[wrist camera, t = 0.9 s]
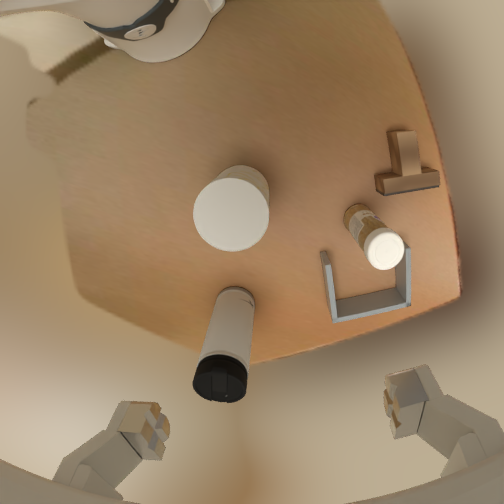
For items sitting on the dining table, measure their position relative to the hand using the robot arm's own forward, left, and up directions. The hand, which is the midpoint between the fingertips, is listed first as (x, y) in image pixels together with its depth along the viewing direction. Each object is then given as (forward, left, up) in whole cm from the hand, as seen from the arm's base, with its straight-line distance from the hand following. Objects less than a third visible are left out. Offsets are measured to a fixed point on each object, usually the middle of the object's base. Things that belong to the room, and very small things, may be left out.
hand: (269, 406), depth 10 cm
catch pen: (+15, +12, -37) cm, 42 cm away
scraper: (-1, +20, -37) cm, 42 cm away
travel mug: (+16, -9, -37) cm, 42 cm away
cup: (-1, -4, -37) cm, 38 cm away
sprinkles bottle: (+6, +12, -37) cm, 40 cm away
